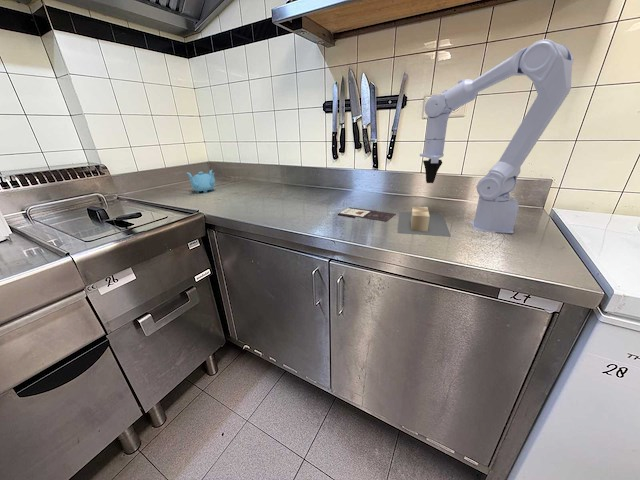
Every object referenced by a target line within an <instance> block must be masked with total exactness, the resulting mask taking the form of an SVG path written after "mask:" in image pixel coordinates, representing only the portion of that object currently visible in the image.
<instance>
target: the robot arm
mask: <svg viewBox="0 0 640 480" xmlns="http://www.w3.org/2000/svg"><path fill="white" fill-rule="evenodd" d="M574 59H575V58H574V56H573V55H572V53H571V50H570V49H569V47H567V46H566V45H565V44H561V43H559V44H558V43H556V42H555V41H553V40H551V39H548V38H547V39H540V40H537V41H535V42H533V43H532V44H531V45H528V47H527V46H526V47H524V48H522V49H519V50H518V51H517V52H516V53H515V54H513V55H511V56H510V57H508V58H507V59H505V60H504V61H501V63H499V64H497V65H495V66H494V67H492V68H491V69H489V70H488V71H486V72H484V73H483V74H481V75H479V77H477V78H475V79H470V78H466V79H463V78H461V79H459V80H458V81H457V84H455V85H454V86H452V87H451V88H449V89H444V90H443V91H442V92H441V94H432V95H431V97H429V98H428V99H427V100H426V101H425V105H424V112H425V115H427V121H426V131H425V140H424V149H423V153H420V154H419V157H423V158H426V160H425V159H424V160H422V163H423V165H424V172H425V182H426V184H434V183H435V180H436V176H437V174H438V171H439V169H440V168H441V166H442V165H443V161H442V159H441V158H444V149H445V142H446V135H447V127H448V121H449V116H450V115H451V113H452V112H453V111H455V110H456V109H458V108H461V107H462V106H464V105H466V104H468V103H470V102H472V101H474V100H475V99H476V98H477V97H478V94H479V93H480V92H482V91H484V90H486V89H489V88H490V87H492V86H494V85H496V84H498V83H501V82H503V81H505V80H507V79H509V78H510V77H514V76H526V77H527V78H528V79H529V80H531V82H532V84H533V86H534V88H535V91H536V93H537V96H536V97H535V99H534V101H533V103H532V104H531V106H530V108H529V110H528V111H527V112H526V114H525V116H524V118H523V119H522V121H521V123H520V125H519V126H518V128H517V129H516V130H515V133H514V135H513V136H512V138H511V140H510V142H509V143H508V145H507V147H506V148H505V150H504V151H503V153H502V155H501V156H500V158H499V160H498V161H497V162H496V163H495V164H494V165H493V167H491V168H490V170H488V172H487V173H486V175H485V176H483V177H482V178H480V179H479V181H478V182H477V184H476V192H477V194H478V200H477V205H476V209H475V216H474V220H470V221H469V223H470V224H471V227H473V229H474V231H479V232H493V233H494V232H495V233H499V234H514V228H515V224H516V220H517V216H518V213H519V201H518V200H517V198H511V196H510V192H511V193H512V191H513V190H514V189H515V188H516V186H517V180H518V176H519V175H520V174H521V167H522V165H523V164H524V162H525V161H526V159H527V158H528V156H529V155H530V153H531V152H532V150H533V148H534V147H535V145H536V143H537V142H538V141H539V139H540V138H541V136H542V135H543V134H544V132H545V130H546V129H547V127H548V126H549V124H550V122H551V121H552V120H553V118H554V116H555V115H556V114H557V112H558V111H559V109H560V108H561V106H562V105H563V103H564V101H565V100H566V98H567V97H568V95H569V94H570V91H571V89H572V75H573V74H572V71H573V63H574V61H575V60H574Z"/></svg>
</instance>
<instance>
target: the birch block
mask: <svg viewBox="0 0 640 480" xmlns="http://www.w3.org/2000/svg"><path fill="white" fill-rule="evenodd" d="M411 212H412V213H411V230H413V231H428V225H429V217H430V216H429V213H430V211H429V208H428V206H411Z"/></svg>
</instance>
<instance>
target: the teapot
mask: <svg viewBox="0 0 640 480" xmlns="http://www.w3.org/2000/svg"><path fill="white" fill-rule="evenodd" d="M197 173H198V174H194V175H192V174H191V172H186V174H187V176H188V178H189V181H190V185H191V189H192V190H194V191H195V193H197V194H199V193H200V192H203V193H204V194H207V193H208V191H210V192H211V191H213V192H214V188H215V186H216V179H215V173H216V172H213V169H211V170H209V171H208V173H204V171H198V172H197Z"/></svg>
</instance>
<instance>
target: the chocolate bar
mask: <svg viewBox="0 0 640 480" xmlns="http://www.w3.org/2000/svg"><path fill="white" fill-rule="evenodd" d="M396 215H397V214H396V213H392V212H387V211H378V210H372V209H365V208H357V207H348V208H346V209H344V210H342V211H341V212H339V213H337V216H339V217H345V218H349V219H350V218H351V219H356V218H358V219H359V218H361V219H365V220H366V219H367V220H372V221H377V222H379V221H380V222H384V223H387V222H389V220H391V219H392V218H393V217H394V216H396Z"/></svg>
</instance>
